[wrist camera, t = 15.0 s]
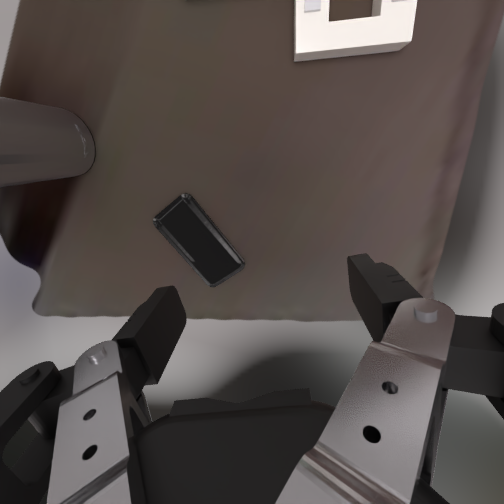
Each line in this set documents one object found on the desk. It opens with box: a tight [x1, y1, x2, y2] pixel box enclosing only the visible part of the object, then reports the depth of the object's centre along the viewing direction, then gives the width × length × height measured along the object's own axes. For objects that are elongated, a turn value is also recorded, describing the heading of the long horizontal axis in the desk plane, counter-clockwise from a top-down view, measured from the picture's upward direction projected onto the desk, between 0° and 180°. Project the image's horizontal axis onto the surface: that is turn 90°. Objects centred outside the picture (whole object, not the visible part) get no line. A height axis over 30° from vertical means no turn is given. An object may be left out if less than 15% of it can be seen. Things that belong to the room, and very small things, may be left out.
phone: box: [153, 193, 245, 287], centre depth 41 cm, size 8×1×15 cm
